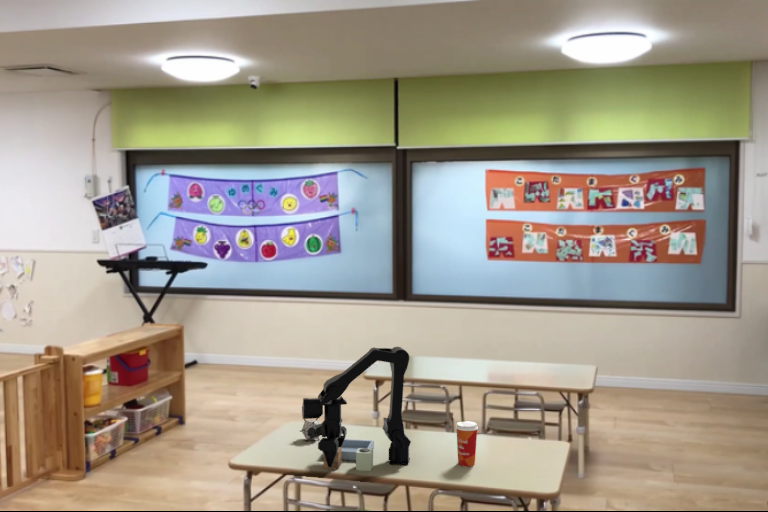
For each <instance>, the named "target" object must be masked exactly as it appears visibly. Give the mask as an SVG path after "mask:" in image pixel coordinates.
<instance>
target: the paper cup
mask: <svg viewBox="0 0 768 512" xmlns="http://www.w3.org/2000/svg"><path fill="white" fill-rule="evenodd" d="M478 429H479V427H478V424H477V423H476V422H475V421H469V420H468V421H467V420H466V421H459V422H458V421H457V423H456V425H455V430H456V444H457V445H456V446H457V461H458V462H457V463H458V466H461V467H464V468H465V467H466V468H469V467H474V466H475V464H476V454H477V453H476V451H477V450H476V449H477V448H476V447H477V438H478V437H477V435H478V434H477V433H478ZM473 465H474V466H473Z"/></svg>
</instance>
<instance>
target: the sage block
mask: <svg viewBox="0 0 768 512" xmlns="http://www.w3.org/2000/svg"><path fill="white" fill-rule="evenodd" d="M373 467H374V450H373V449H368V448H358V450H357V452H356V461H355V471H363V472H365V471H366V472H367V471H368V472H371V471H372V469H373Z"/></svg>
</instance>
